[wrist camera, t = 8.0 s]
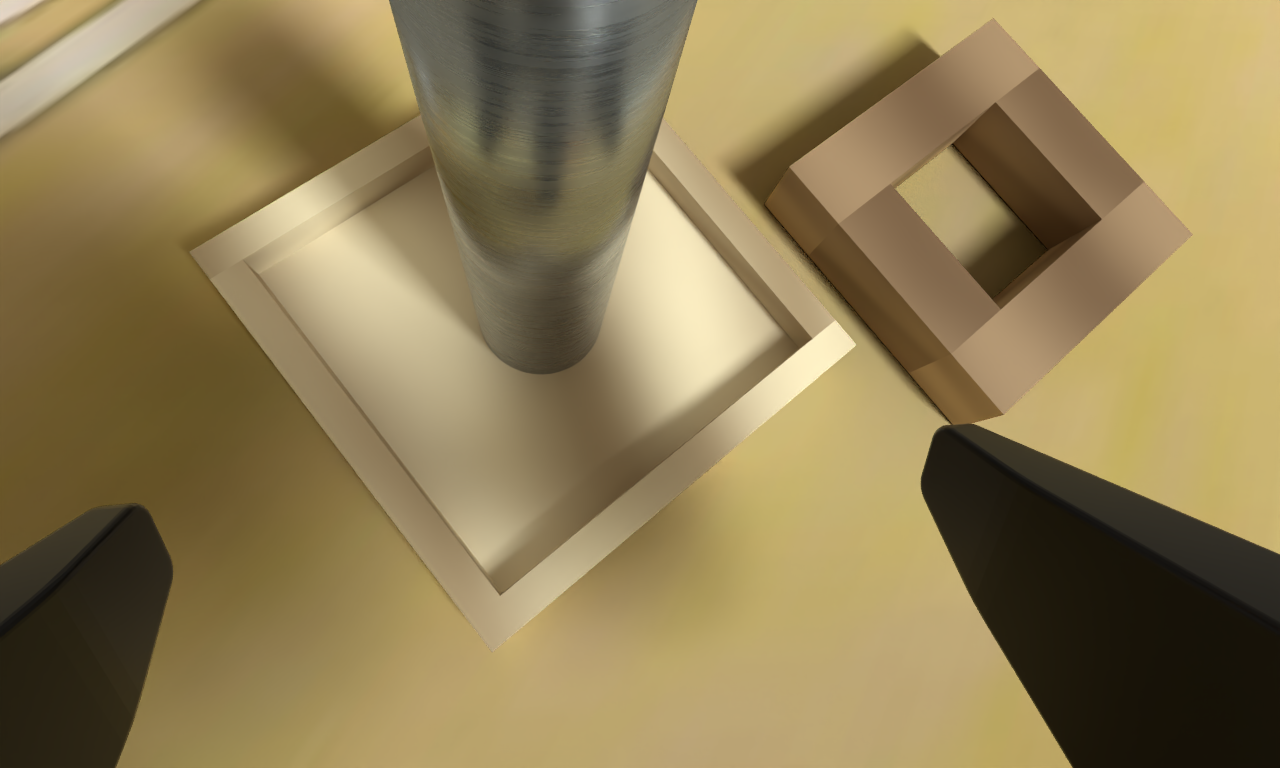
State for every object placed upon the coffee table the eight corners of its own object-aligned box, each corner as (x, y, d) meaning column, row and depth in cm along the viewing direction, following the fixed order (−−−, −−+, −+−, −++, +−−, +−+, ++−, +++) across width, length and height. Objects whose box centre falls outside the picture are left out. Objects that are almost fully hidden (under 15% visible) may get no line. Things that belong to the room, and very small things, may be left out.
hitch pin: (580, 433, 16) (774, -51, 3) (414, 351, 16) (-191, -563, 3) (657, 281, 18) (1057, -576, 4) (503, 203, 17) (381, -958, 4)
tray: (496, 642, 16) (491, 652, 14) (219, 276, 17) (188, 252, 15) (831, 360, 18) (856, 344, 17) (577, 59, 19) (580, 20, 18)
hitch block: (955, 427, 18) (1003, 414, 17) (764, 204, 19) (789, 166, 17) (1131, 262, 20) (1192, 234, 18) (951, 65, 21) (993, 18, 19)
